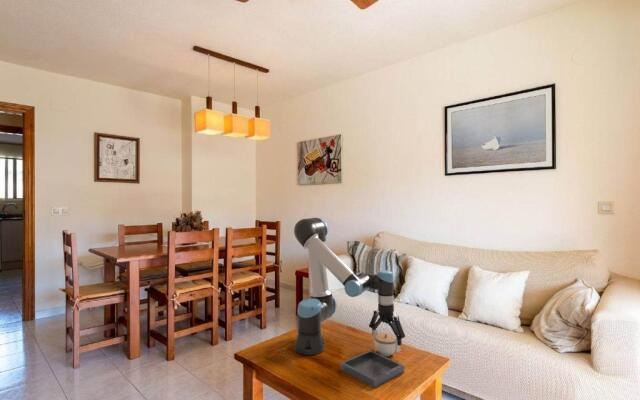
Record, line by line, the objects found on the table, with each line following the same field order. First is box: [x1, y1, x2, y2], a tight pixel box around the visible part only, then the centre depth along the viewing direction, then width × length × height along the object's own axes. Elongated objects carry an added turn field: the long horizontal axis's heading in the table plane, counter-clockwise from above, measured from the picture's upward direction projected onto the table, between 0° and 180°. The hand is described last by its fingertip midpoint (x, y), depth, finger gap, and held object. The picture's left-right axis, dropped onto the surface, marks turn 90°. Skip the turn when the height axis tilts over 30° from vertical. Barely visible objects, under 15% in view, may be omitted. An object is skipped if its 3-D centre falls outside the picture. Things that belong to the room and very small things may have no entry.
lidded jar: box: [374, 332, 397, 357], centre depth 169 cm, size 11×11×9 cm
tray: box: [339, 349, 405, 389], centre depth 152 cm, size 19×19×3 cm
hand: (386, 347), depth 169 cm, fingers open, 13 cm apart
